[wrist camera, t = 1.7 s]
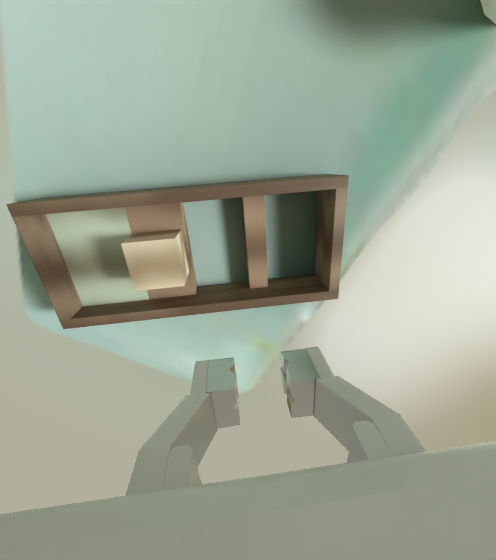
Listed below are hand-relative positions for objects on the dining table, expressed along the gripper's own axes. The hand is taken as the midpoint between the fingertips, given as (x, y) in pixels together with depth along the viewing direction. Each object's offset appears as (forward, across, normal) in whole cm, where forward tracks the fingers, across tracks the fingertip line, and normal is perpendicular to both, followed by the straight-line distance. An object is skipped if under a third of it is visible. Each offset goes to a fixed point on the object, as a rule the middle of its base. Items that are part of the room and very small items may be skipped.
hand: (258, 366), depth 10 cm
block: (+17, +8, 0) cm, 19 cm away
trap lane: (+19, +4, 0) cm, 20 cm away
